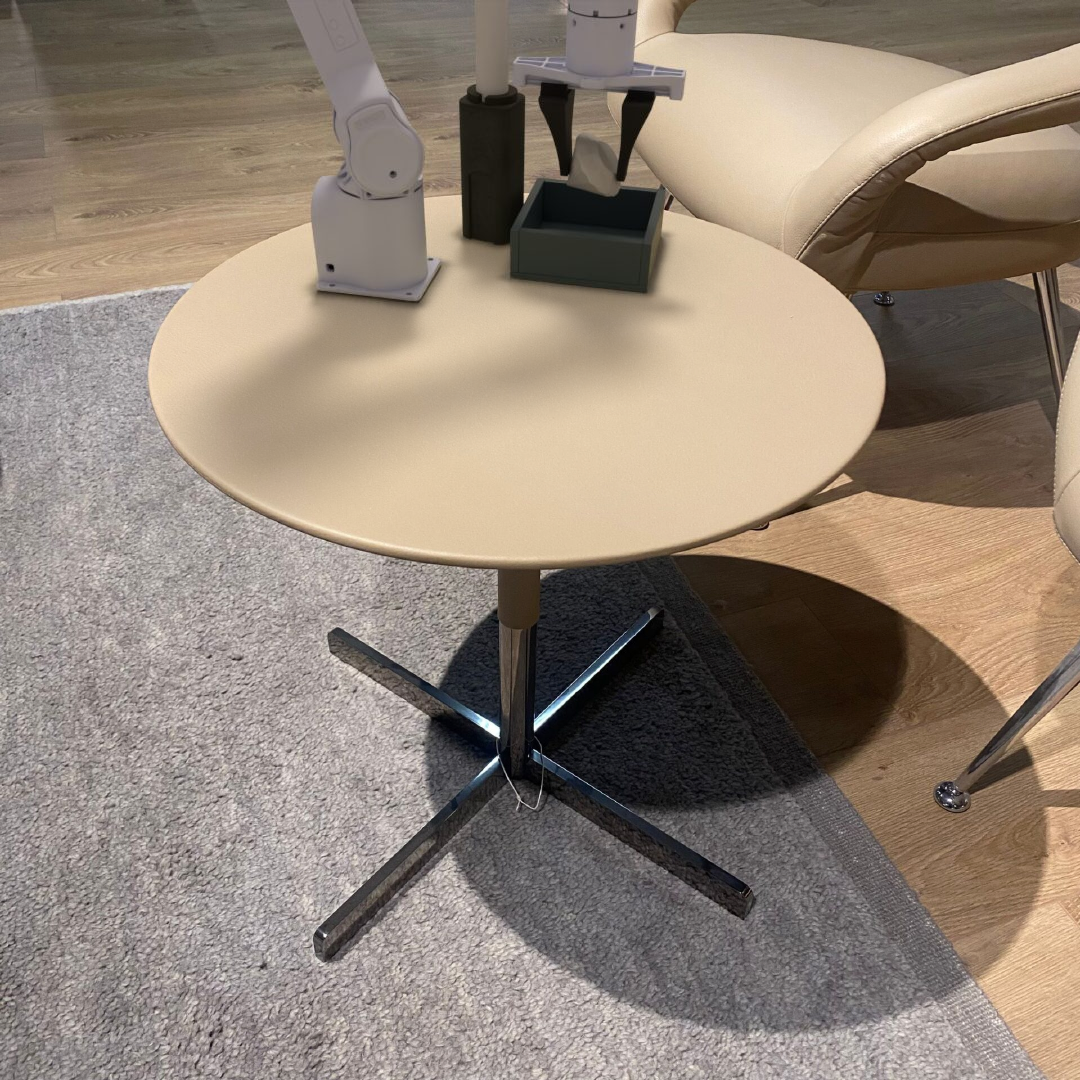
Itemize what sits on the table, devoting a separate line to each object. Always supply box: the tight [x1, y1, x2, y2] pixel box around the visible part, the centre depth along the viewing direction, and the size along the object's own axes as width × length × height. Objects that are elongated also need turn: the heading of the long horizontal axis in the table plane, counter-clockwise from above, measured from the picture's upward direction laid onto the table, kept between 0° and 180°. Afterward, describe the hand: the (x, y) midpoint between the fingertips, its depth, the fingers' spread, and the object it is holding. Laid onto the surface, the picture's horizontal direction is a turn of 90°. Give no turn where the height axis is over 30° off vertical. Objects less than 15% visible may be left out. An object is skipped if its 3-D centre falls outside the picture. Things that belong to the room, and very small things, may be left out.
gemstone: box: [567, 131, 622, 196], centre depth 92 cm, size 6×6×5 cm
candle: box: [458, 0, 526, 246], centre depth 92 cm, size 5×5×25 cm
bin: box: [509, 177, 667, 293], centre depth 96 cm, size 13×13×5 cm
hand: (593, 174), depth 92 cm, fingers closed on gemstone, 4 cm apart
